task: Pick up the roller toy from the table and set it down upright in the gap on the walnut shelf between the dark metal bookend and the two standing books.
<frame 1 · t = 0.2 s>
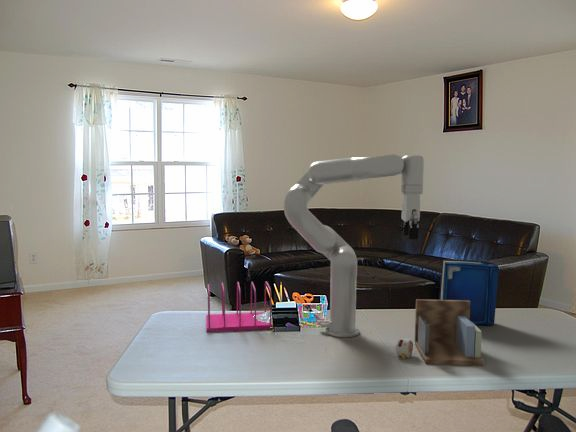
hand: (410, 237, 179), 36 cm above the table, tool pointing down, fingers open, 9 cm apart
roller toy: (404, 356, 162), on the table
file sorter: (238, 324, 194), on the table
book: (467, 323, 197), on the table
bookend: (422, 353, 164), resting on shelf
standing books: (466, 355, 163), resting on shelf
shelf: (447, 355, 163), on the table
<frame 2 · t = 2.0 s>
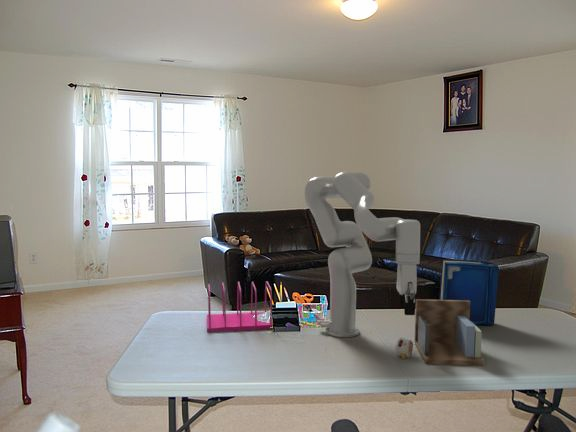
hand: (406, 310, 160), 15 cm above the table, tool pointing down, fingers open, 9 cm apart
nothing on the table moved.
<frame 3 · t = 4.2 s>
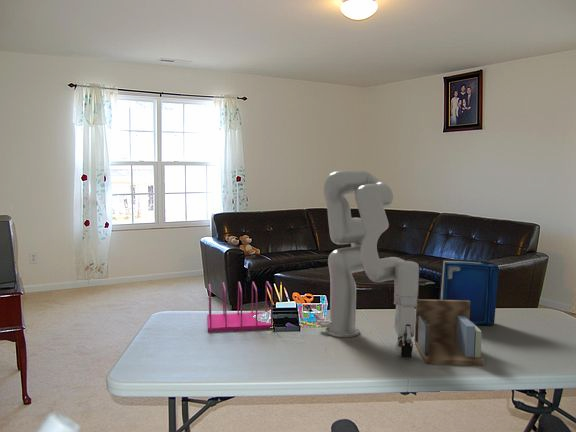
hand: (404, 352, 162), 1 cm above the table, tool pointing down, fingers closed on roller toy, 6 cm apart
roller toy: (404, 356, 162), on the table, touching gripper
everything else where it was.
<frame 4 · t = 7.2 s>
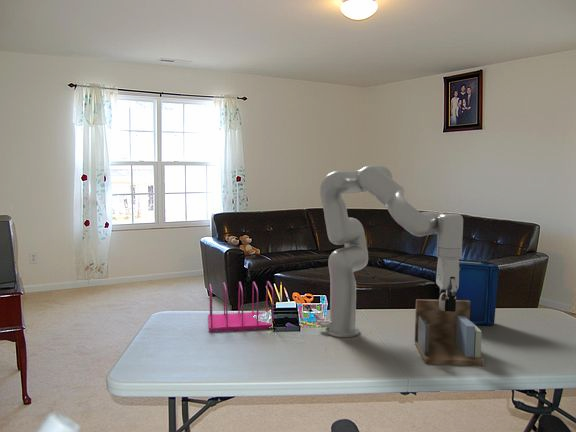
hand: (447, 307, 158), 17 cm above the table, tool pointing down, fingers closed on roller toy, 6 cm apart
roller toy: (446, 311, 158), point 16 cm above the table, touching gripper
everything else where it was.
when the fingers open (4 cm above the table, at t = 10.3 s): roller toy drops 1 cm, resting on shelf.
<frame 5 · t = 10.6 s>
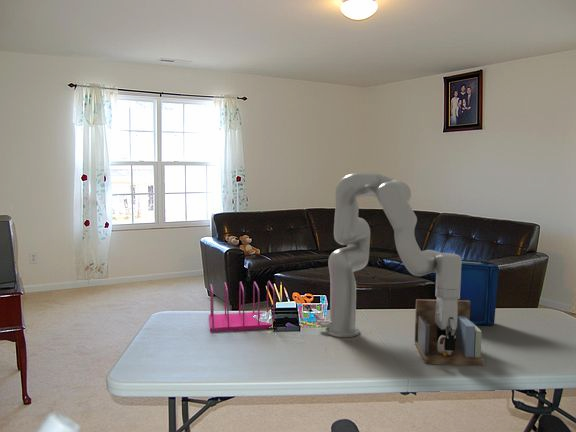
hand: (445, 344, 159), 5 cm above the table, tool pointing down, fingers open, 9 cm apart
roller toy: (445, 354, 160), point 1 cm above the table, touching shelf
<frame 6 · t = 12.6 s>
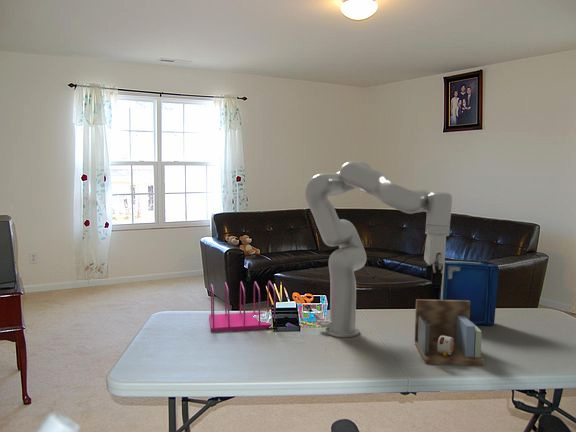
hand: (433, 281, 164), 24 cm above the table, tool pointing down, fingers open, 9 cm apart
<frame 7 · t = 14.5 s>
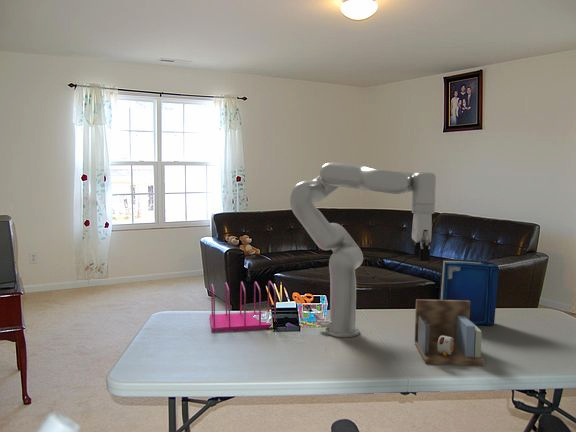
hand: (421, 258, 170), 30 cm above the table, tool pointing down, fingers open, 9 cm apart
at the end: roller toy inside the target area on the shelf (2.0 cm from its centre), point 1.3 cm above the shelf's base; roller toy tilted 0°; the gripper is holding nothing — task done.
